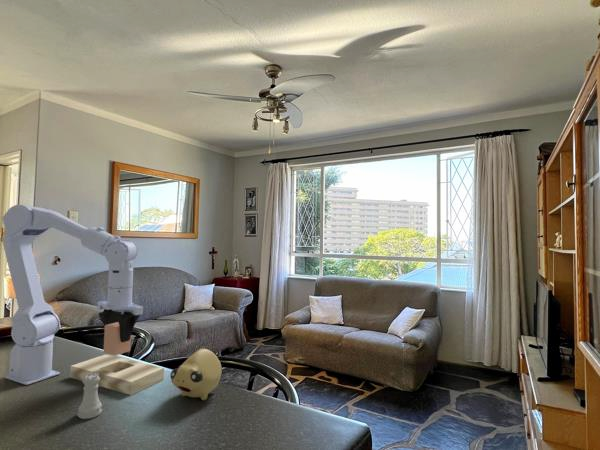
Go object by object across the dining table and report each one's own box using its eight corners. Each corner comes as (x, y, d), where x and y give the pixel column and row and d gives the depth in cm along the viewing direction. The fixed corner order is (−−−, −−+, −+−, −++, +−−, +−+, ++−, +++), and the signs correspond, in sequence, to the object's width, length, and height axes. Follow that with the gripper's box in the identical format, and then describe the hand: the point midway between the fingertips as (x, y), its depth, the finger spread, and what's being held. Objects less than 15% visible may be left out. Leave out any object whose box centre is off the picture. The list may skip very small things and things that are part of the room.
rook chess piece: (90, 421, 71) (92, 380, 71) (71, 418, 72) (73, 378, 72) (107, 410, 75) (108, 372, 75) (89, 408, 76) (90, 370, 76)
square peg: (103, 352, 90) (104, 325, 91) (118, 348, 94) (119, 321, 95) (115, 355, 89) (116, 327, 89) (130, 350, 93) (131, 323, 93)
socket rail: (70, 377, 91) (70, 365, 92) (105, 365, 101) (105, 354, 101) (130, 395, 82) (131, 382, 82) (163, 379, 91) (164, 367, 92)
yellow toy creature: (160, 405, 78) (162, 356, 78) (192, 384, 89) (194, 341, 90) (199, 413, 75) (201, 362, 75) (227, 390, 86) (229, 345, 87)
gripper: (87, 286, 92) (85, 339, 91) (127, 291, 86) (124, 348, 85) (111, 283, 98) (109, 333, 98) (150, 287, 92) (148, 340, 92)
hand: (118, 339), depth 92 cm, fingers closed on square peg, 4 cm apart
